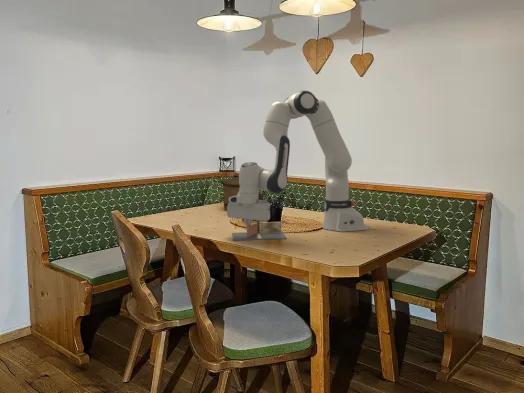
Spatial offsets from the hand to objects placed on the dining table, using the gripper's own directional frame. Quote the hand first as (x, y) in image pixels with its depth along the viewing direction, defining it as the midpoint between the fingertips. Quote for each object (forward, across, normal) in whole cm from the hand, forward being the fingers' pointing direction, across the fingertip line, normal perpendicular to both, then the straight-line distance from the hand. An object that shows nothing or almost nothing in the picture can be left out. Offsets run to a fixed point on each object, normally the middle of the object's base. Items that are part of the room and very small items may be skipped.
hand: (248, 228), depth 216 cm
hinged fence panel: (+3, -1, -2) cm, 4 cm away
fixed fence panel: (+3, -6, -11) cm, 12 cm away
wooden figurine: (+4, +14, -35) cm, 38 cm away
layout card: (+4, -4, -4) cm, 7 cm away
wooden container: (+4, +36, -62) cm, 72 cm away
